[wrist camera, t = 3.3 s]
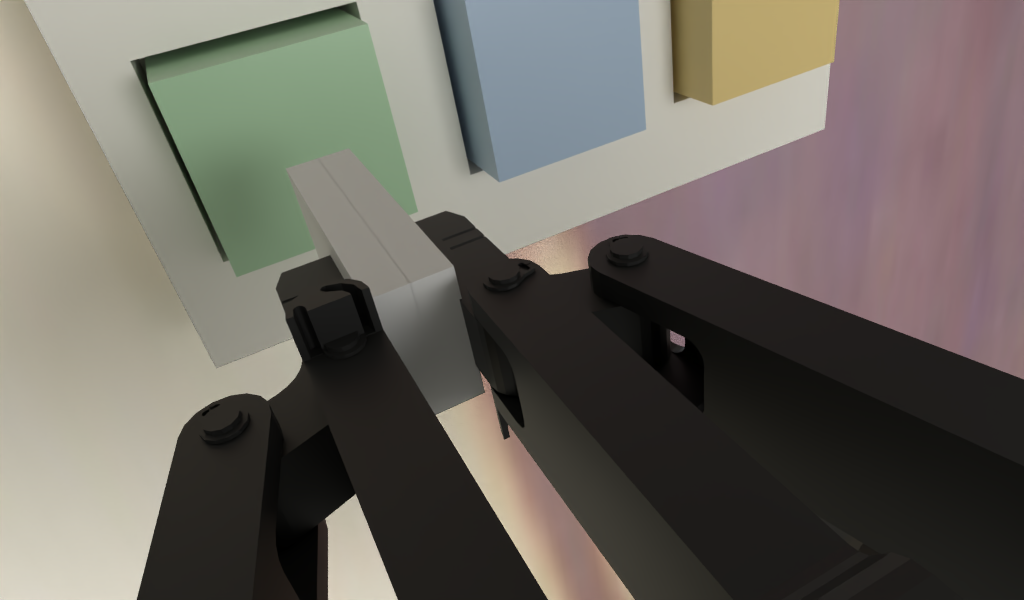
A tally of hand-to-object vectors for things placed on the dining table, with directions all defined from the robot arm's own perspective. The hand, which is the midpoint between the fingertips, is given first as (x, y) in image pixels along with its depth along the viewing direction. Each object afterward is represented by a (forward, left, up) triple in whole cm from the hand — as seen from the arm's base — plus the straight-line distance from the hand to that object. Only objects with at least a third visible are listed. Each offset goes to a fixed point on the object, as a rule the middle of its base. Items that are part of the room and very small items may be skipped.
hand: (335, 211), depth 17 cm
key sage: (0, 0, -9) cm, 9 cm away
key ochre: (-18, 0, -9) cm, 20 cm away
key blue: (-9, 0, -9) cm, 13 cm away
